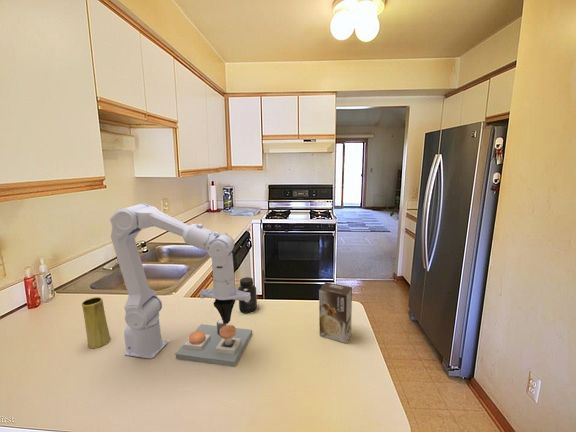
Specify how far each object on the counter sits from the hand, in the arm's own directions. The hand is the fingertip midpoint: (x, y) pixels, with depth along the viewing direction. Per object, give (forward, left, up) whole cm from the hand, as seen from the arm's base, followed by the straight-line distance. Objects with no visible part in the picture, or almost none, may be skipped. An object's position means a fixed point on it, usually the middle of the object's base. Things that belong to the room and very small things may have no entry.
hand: (226, 321), depth 83 cm
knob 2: (0, 0, -7) cm, 7 cm away
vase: (-43, -3, -10) cm, 44 cm away
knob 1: (-10, 0, -10) cm, 14 cm away
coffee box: (+30, +14, -10) cm, 35 cm away
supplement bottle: (-3, +24, -10) cm, 26 cm away
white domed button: (-5, +6, -8) cm, 12 cm away
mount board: (-5, +2, -10) cm, 11 cm away
